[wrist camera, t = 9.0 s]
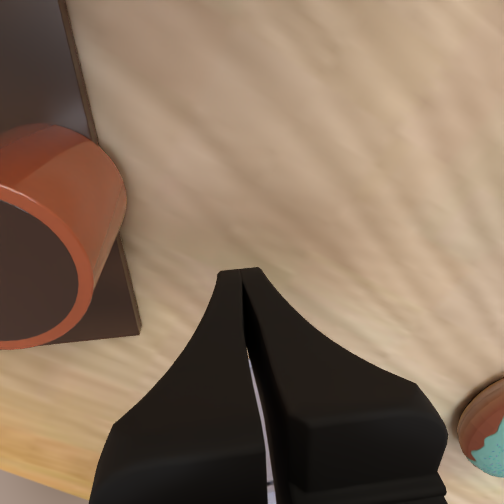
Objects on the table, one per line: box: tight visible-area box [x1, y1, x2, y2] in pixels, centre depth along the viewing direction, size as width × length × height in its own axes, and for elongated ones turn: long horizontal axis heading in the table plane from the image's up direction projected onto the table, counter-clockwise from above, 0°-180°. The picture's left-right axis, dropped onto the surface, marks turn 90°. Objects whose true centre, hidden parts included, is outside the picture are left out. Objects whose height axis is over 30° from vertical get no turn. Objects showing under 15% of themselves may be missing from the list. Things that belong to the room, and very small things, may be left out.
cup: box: [0, 123, 127, 350], centre depth 16 cm, size 8×7×7 cm
